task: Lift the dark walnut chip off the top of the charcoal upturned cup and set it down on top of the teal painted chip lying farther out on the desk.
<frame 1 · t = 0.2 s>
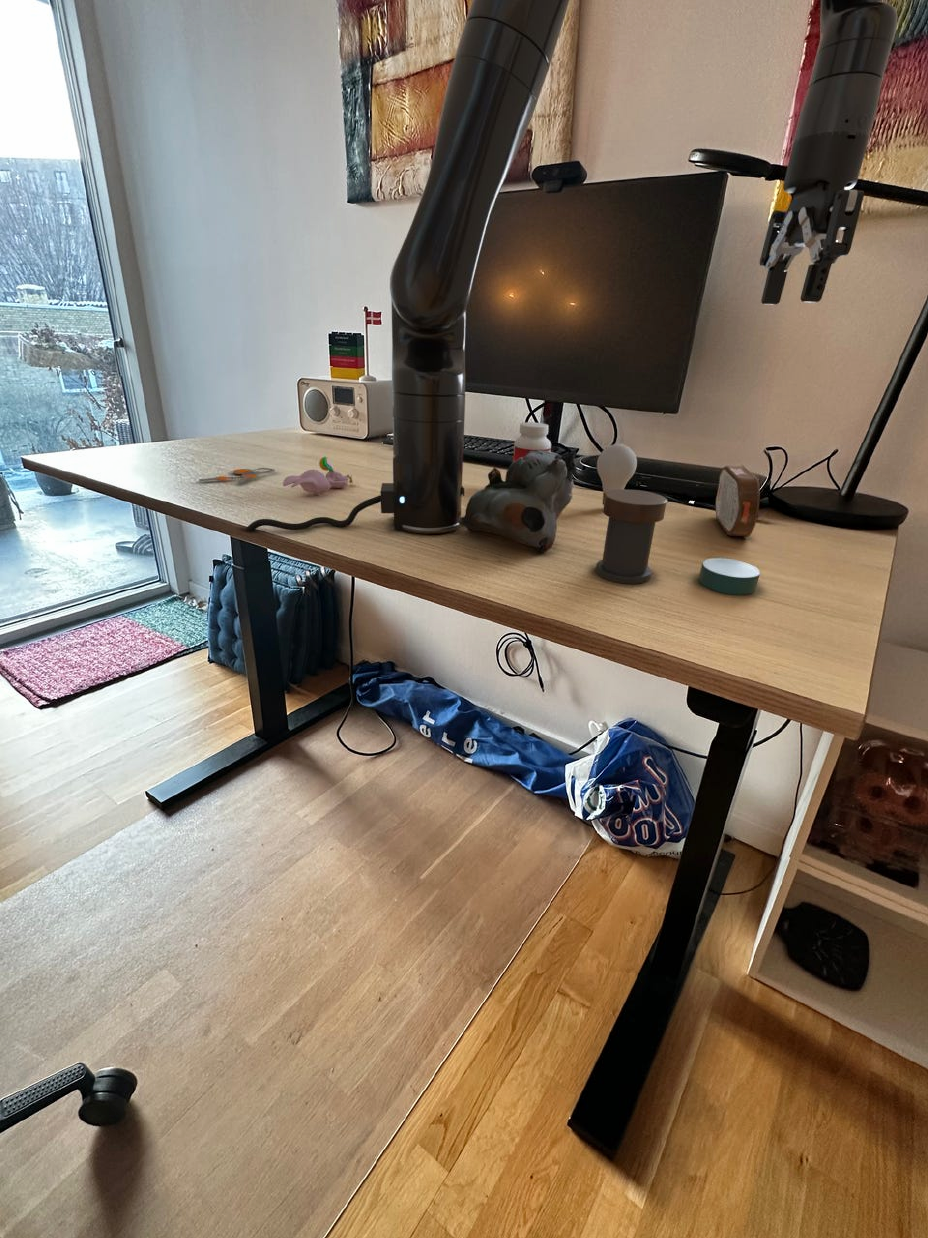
hand: (788, 302, 72), 29 cm above the table, tool pointing down, fingers open, 8 cm apart
walnut chip: (632, 514, 64), point 7 cm above the table, touching upturned cup
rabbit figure: (319, 494, 94), on the table
tin: (728, 529, 85), on the table
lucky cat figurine: (512, 540, 77), on the table
teal chip: (726, 584, 65), on the table
key chain: (240, 478, 101), on the table
upturned cup: (622, 573, 67), on the table
light bulb: (609, 510, 92), on the table
pill bottle: (528, 492, 100), on the table
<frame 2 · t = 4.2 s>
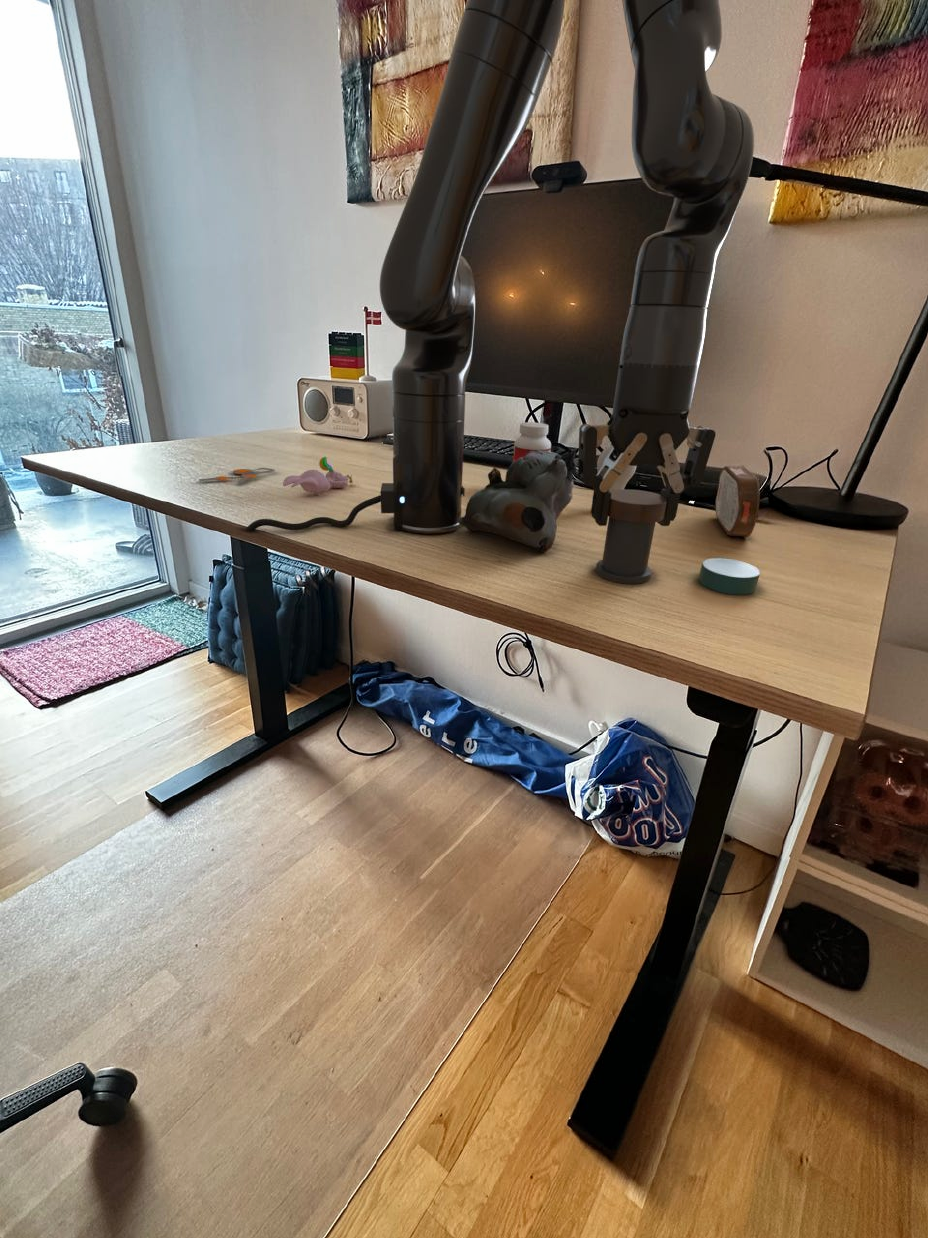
hand: (631, 523, 64), 6 cm above the table, tool pointing down, fingers closed on walnut chip, 6 cm apart
walnut chip: (633, 514, 64), point 7 cm above the table, touching gripper, upturned cup
everything else where it was.
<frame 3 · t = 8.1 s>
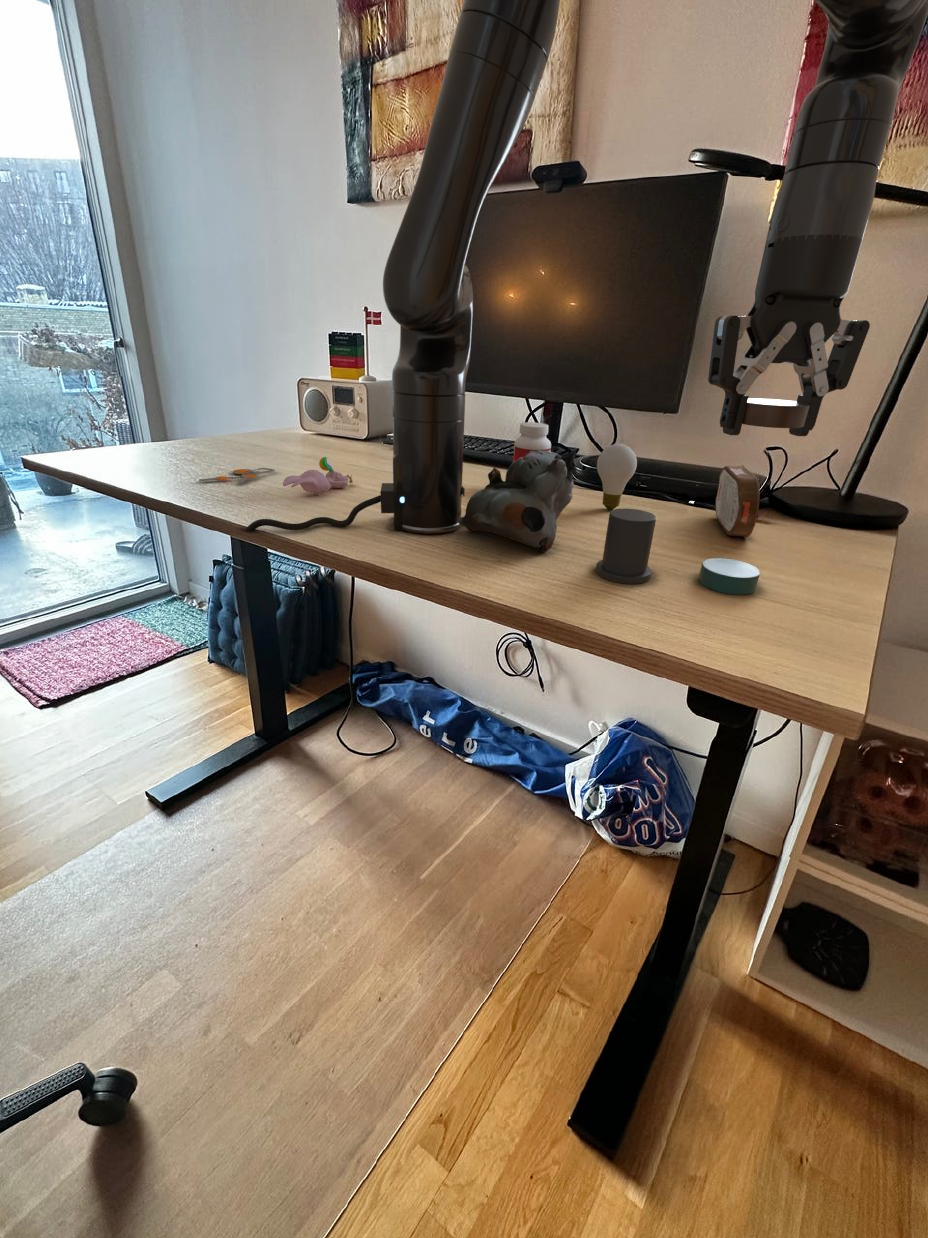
hand: (764, 434, 58), 16 cm above the table, tool pointing down, fingers closed on walnut chip, 6 cm apart
walnut chip: (767, 423, 58), point 17 cm above the table, touching gripper
everything else where it was.
when the fingers open (1 cm above the table, at t = 12.1 s): walnut chip stays where it is, resting on teal chip.
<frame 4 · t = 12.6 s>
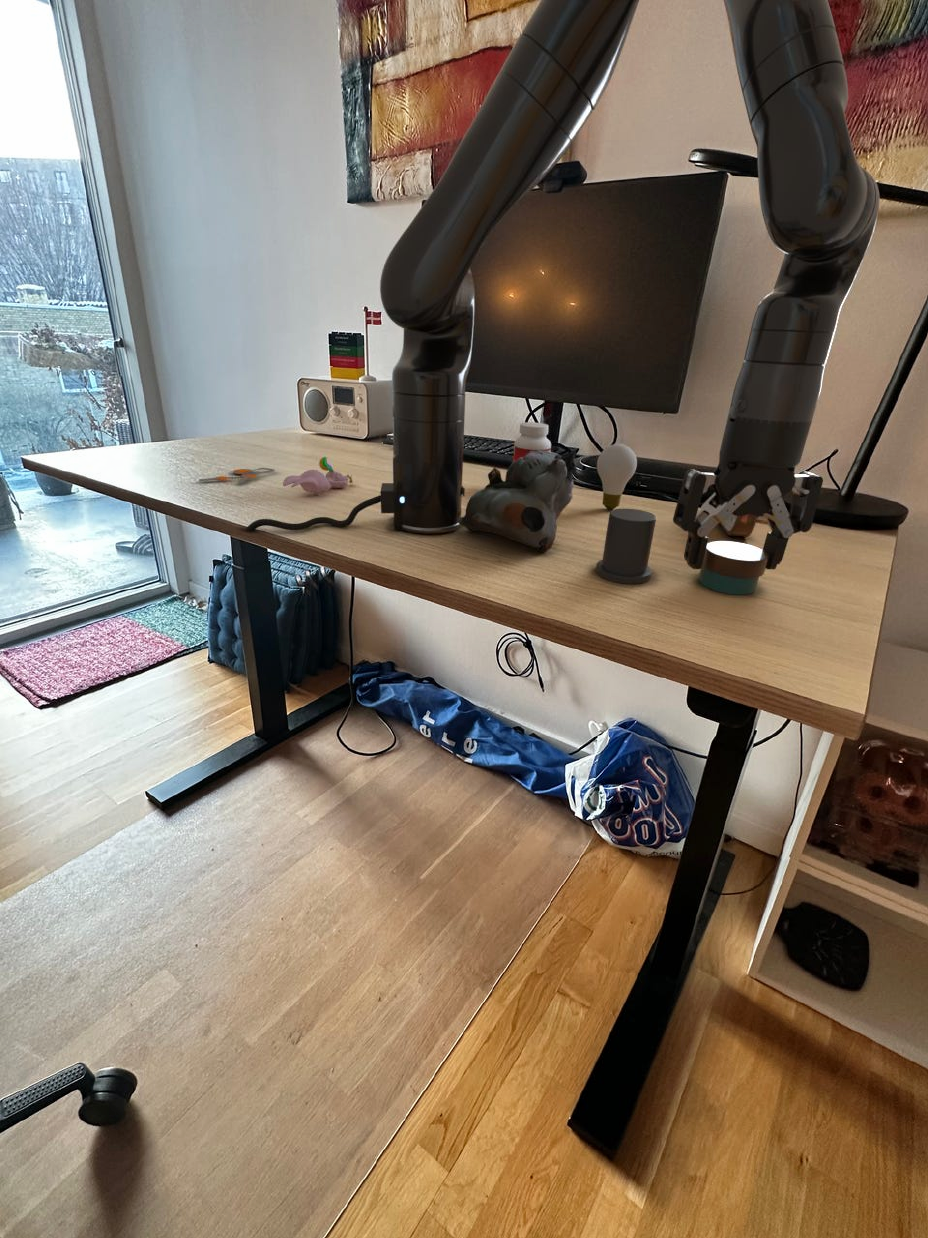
hand: (730, 566, 64), 2 cm above the table, tool pointing down, fingers open, 8 cm apart
walnut chip: (732, 567, 64), point 2 cm above the table, touching teal chip
teal chip: (726, 584, 65), on the table, touching walnut chip
everything else where it was.
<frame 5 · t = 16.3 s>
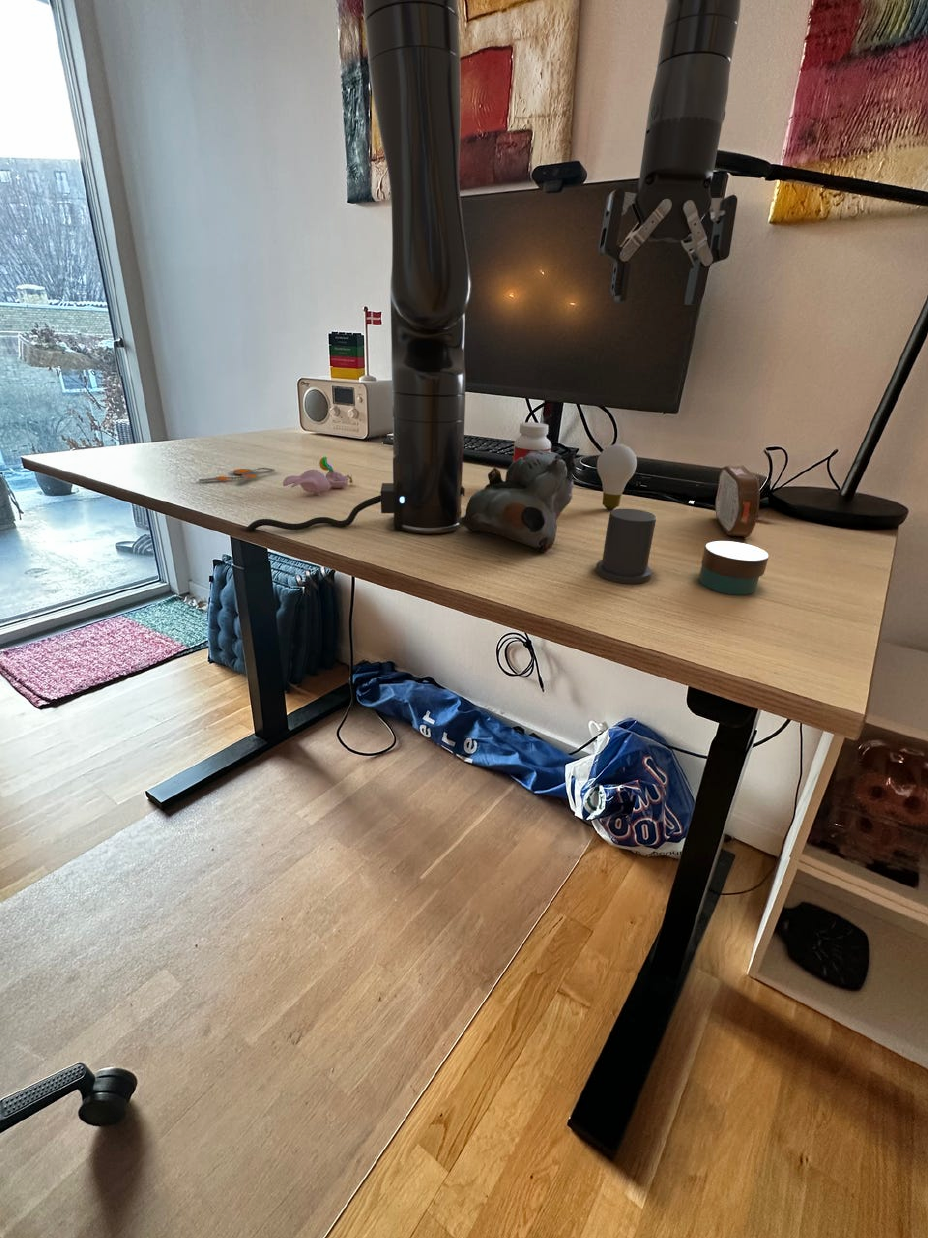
hand: (655, 303, 67), 28 cm above the table, tool pointing down, fingers open, 8 cm apart
nothing on the table moved.
at the end: walnut chip 0.2 cm off-centre on the teal chip, point 2.0 cm above the teal chip's base; walnut chip tilted 0°; teal chip moved 0.0 cm from its start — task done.
